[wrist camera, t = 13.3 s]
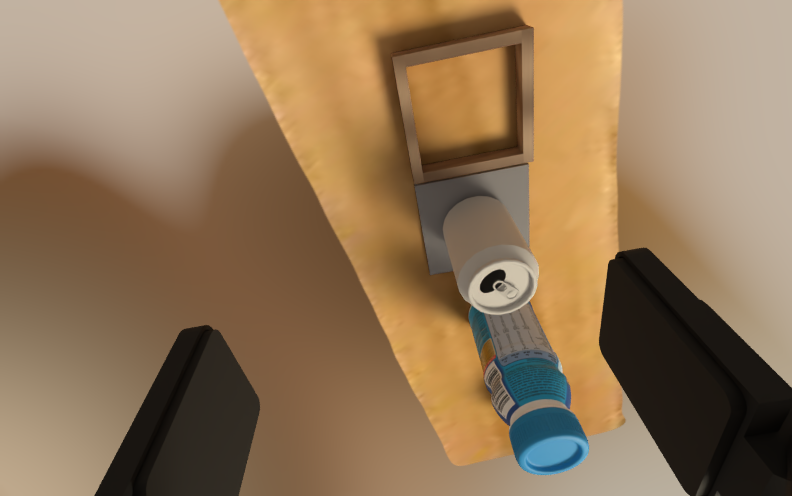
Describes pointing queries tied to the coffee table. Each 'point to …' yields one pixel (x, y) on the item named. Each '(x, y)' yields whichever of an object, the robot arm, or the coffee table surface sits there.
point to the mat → (446, 193)
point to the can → (489, 256)
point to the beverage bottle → (529, 390)
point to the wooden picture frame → (524, 101)
